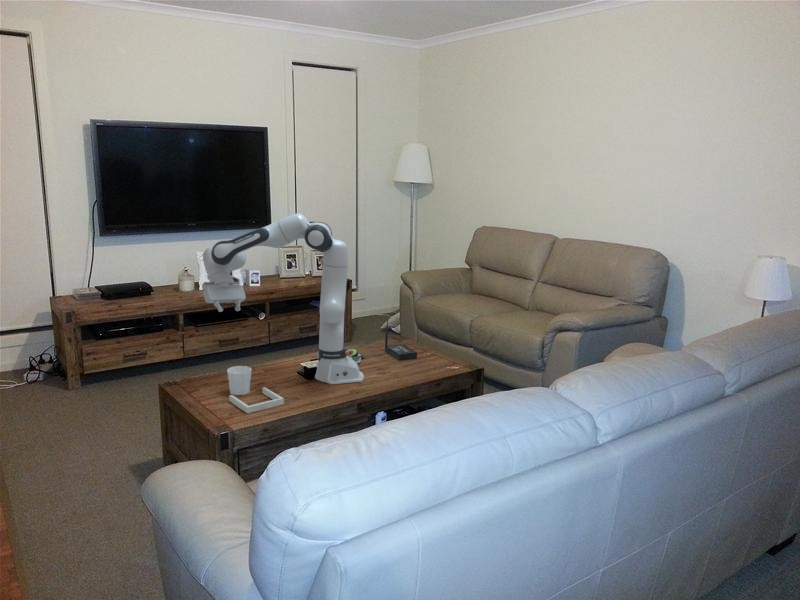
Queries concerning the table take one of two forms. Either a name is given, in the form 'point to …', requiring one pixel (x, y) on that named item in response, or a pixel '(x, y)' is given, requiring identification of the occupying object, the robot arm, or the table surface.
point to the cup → (239, 379)
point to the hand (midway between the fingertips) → (229, 310)
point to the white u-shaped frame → (260, 406)
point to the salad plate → (355, 355)
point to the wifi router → (399, 350)
